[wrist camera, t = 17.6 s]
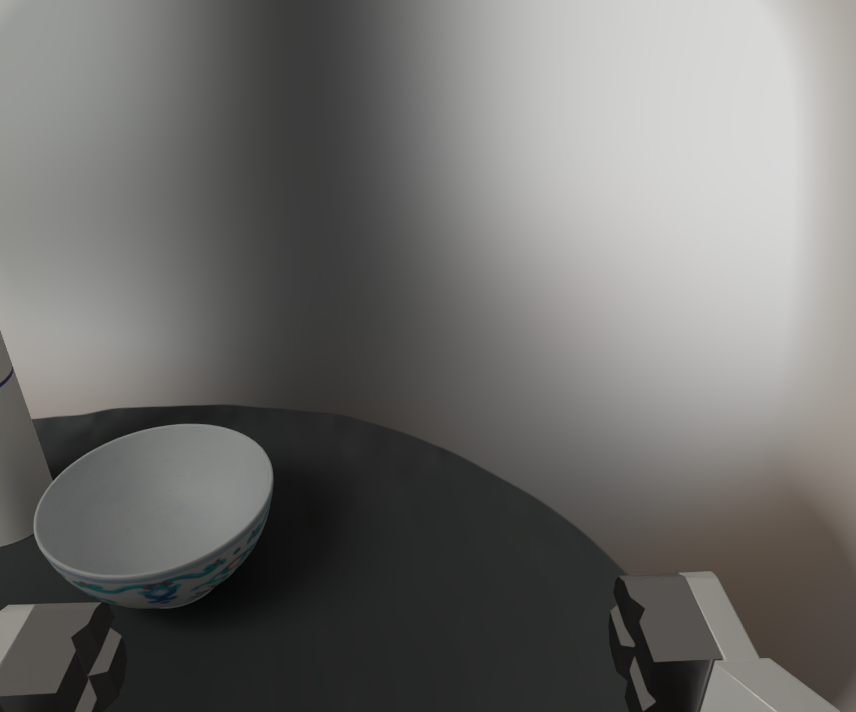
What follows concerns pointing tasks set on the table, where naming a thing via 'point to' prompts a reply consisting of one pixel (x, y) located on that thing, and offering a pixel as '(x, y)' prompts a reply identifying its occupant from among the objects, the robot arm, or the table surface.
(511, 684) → the table surface
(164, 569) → the chinaware
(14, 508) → the cylindrical container
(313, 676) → the table surface
